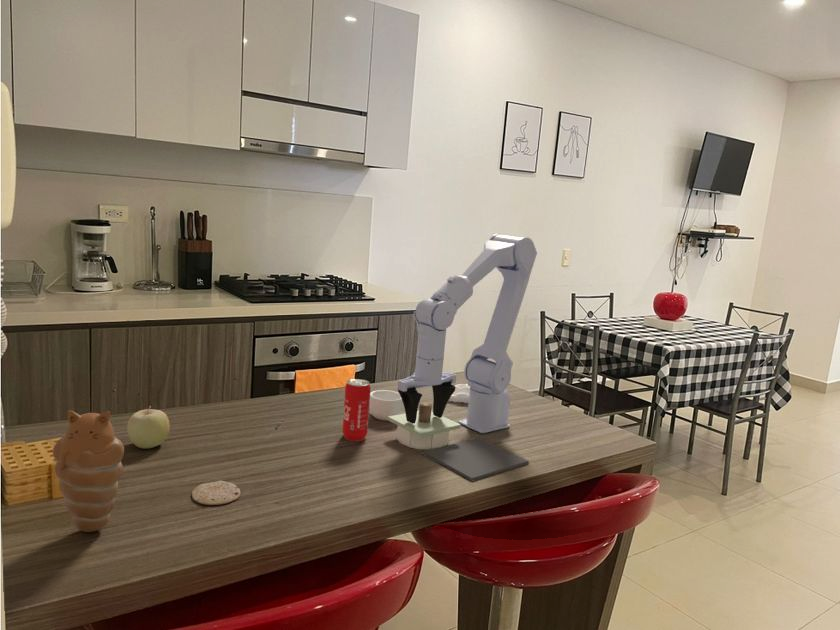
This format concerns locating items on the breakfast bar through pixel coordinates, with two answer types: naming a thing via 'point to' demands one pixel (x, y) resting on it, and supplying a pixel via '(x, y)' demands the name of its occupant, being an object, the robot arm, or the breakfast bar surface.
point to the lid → (425, 422)
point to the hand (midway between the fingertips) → (424, 419)
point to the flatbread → (216, 493)
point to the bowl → (422, 439)
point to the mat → (475, 458)
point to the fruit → (148, 428)
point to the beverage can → (356, 409)
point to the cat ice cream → (89, 469)
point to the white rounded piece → (461, 393)
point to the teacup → (385, 404)
